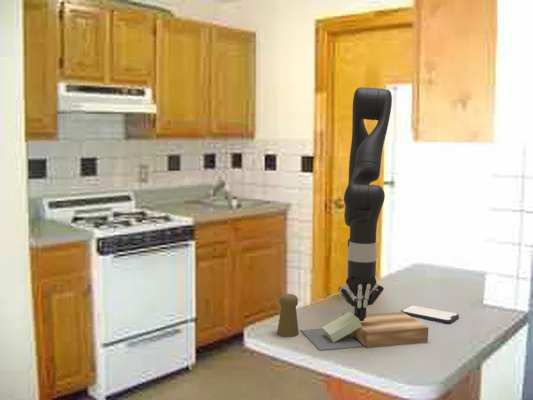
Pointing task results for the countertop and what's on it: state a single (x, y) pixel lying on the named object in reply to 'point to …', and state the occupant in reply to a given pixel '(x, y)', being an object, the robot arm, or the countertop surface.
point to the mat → (325, 343)
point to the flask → (350, 307)
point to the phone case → (431, 314)
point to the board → (390, 330)
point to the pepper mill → (288, 316)
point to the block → (341, 327)
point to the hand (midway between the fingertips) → (359, 320)
